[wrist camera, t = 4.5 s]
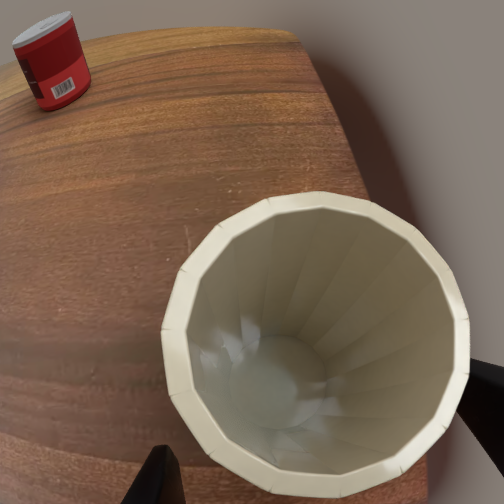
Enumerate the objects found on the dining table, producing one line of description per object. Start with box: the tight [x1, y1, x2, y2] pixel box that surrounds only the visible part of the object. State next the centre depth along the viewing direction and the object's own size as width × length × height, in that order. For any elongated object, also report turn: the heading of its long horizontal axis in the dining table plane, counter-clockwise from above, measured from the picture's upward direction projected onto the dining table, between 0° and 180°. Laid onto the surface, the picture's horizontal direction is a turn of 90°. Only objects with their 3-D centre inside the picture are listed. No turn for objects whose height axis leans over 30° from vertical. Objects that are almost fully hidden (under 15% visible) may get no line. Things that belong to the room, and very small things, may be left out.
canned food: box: [12, 12, 91, 111], centre depth 27 cm, size 8×8×11 cm
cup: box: [160, 191, 470, 499], centre depth 11 cm, size 6×6×13 cm
